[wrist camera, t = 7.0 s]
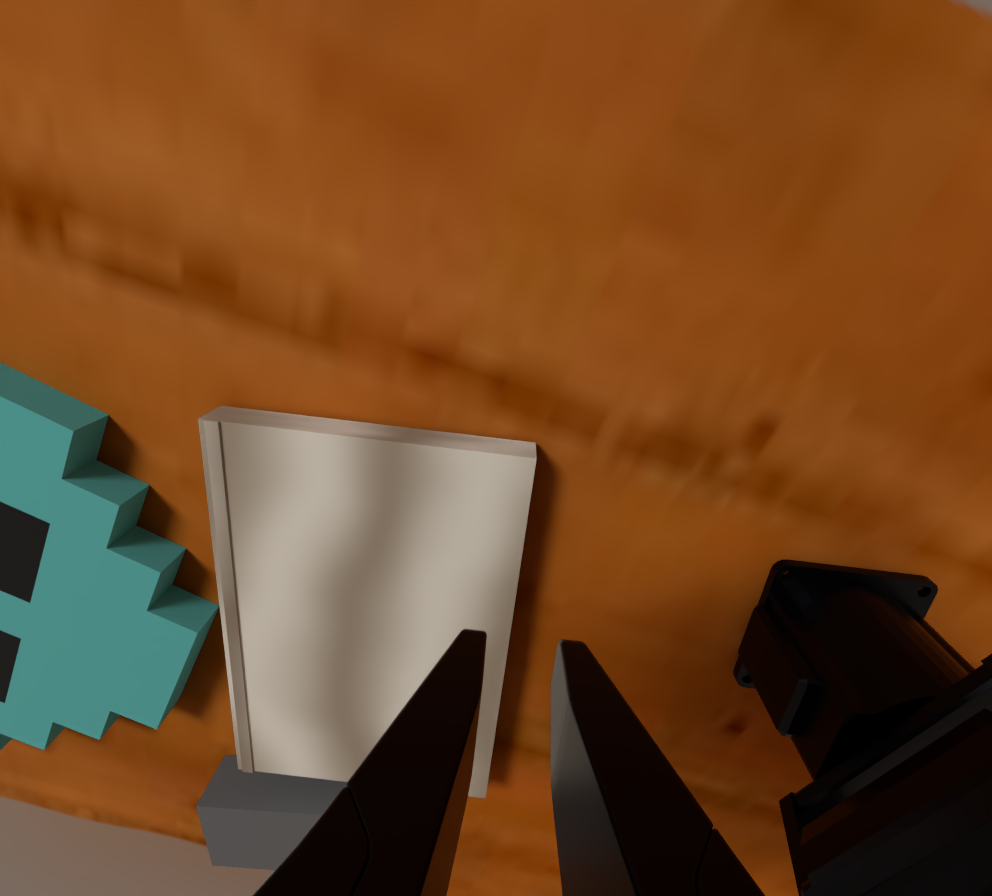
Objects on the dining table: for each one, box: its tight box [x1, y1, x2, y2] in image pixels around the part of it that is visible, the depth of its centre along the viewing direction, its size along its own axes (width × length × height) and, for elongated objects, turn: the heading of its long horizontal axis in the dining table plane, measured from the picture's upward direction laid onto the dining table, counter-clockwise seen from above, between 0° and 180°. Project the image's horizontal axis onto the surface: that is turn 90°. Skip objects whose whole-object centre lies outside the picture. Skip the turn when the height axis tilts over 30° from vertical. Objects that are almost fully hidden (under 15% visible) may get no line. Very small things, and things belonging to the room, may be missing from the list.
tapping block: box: [196, 755, 347, 870], centre depth 28 cm, size 8×4×3 cm, turn 88°
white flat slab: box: [198, 406, 537, 798], centre depth 23 cm, size 12×18×2 cm, turn 174°
